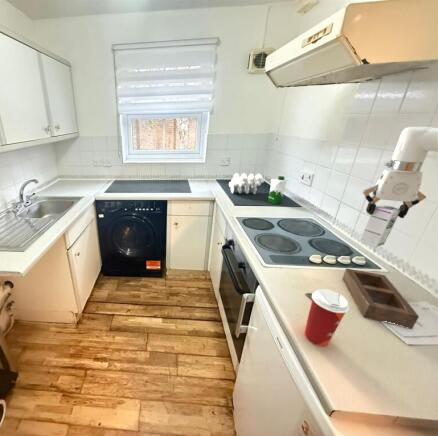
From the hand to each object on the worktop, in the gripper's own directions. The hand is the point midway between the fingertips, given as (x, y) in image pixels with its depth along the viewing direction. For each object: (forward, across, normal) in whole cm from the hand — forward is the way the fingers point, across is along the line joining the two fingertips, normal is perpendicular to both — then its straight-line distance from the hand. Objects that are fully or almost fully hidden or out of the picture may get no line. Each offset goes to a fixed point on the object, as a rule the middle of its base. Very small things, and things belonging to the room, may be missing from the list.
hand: (384, 214), depth 85 cm
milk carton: (+28, -25, +91) cm, 98 cm away
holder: (+28, 0, -14) cm, 31 cm away
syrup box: (+12, -1, 0) cm, 12 cm away
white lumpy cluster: (+27, -47, +108) cm, 121 cm away
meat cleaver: (+28, -19, -24) cm, 41 cm away
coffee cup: (+28, -22, -40) cm, 53 cm away
